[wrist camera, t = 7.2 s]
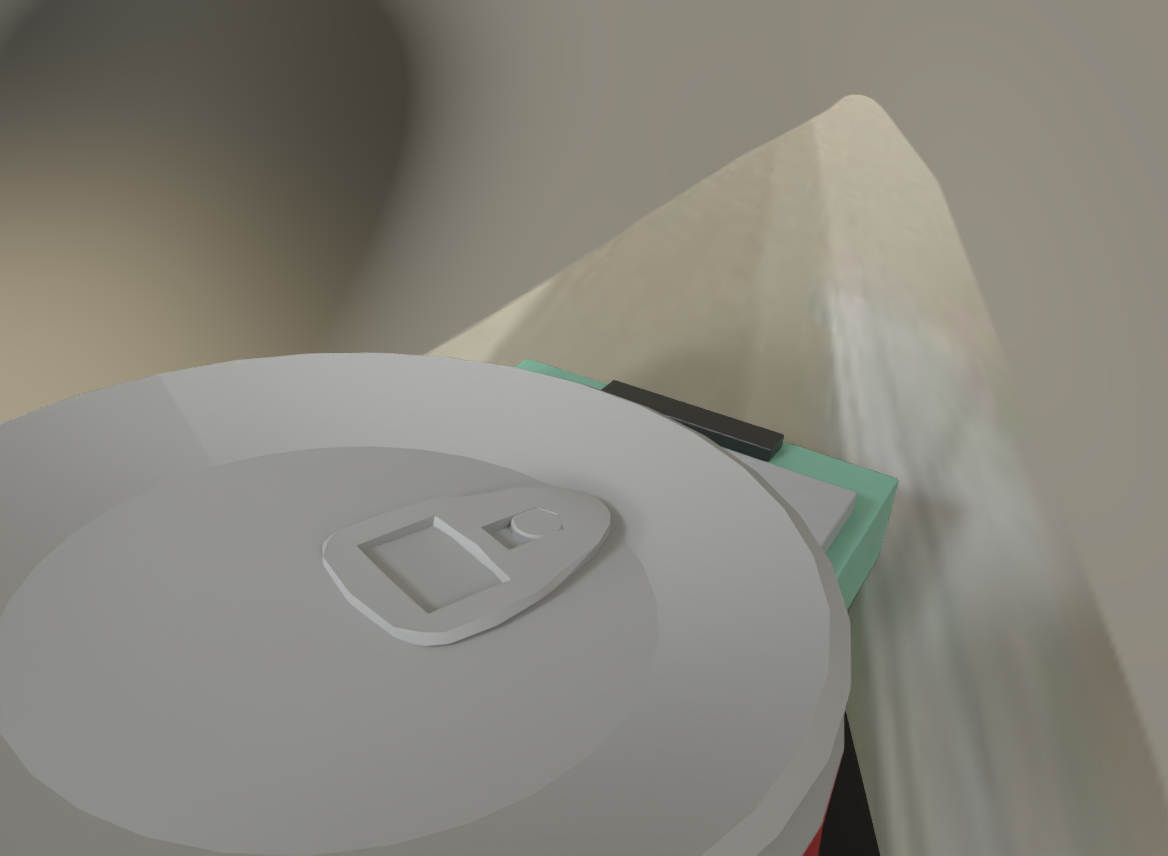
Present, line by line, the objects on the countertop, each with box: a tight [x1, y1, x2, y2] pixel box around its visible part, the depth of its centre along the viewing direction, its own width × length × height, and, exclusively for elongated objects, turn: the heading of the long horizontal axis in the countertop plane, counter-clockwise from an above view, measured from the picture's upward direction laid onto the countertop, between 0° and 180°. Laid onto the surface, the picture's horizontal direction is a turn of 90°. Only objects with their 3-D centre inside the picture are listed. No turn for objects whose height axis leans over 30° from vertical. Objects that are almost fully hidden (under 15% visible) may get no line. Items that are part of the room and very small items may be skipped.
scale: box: [515, 359, 899, 610], centre depth 25 cm, size 11×14×3 cm
